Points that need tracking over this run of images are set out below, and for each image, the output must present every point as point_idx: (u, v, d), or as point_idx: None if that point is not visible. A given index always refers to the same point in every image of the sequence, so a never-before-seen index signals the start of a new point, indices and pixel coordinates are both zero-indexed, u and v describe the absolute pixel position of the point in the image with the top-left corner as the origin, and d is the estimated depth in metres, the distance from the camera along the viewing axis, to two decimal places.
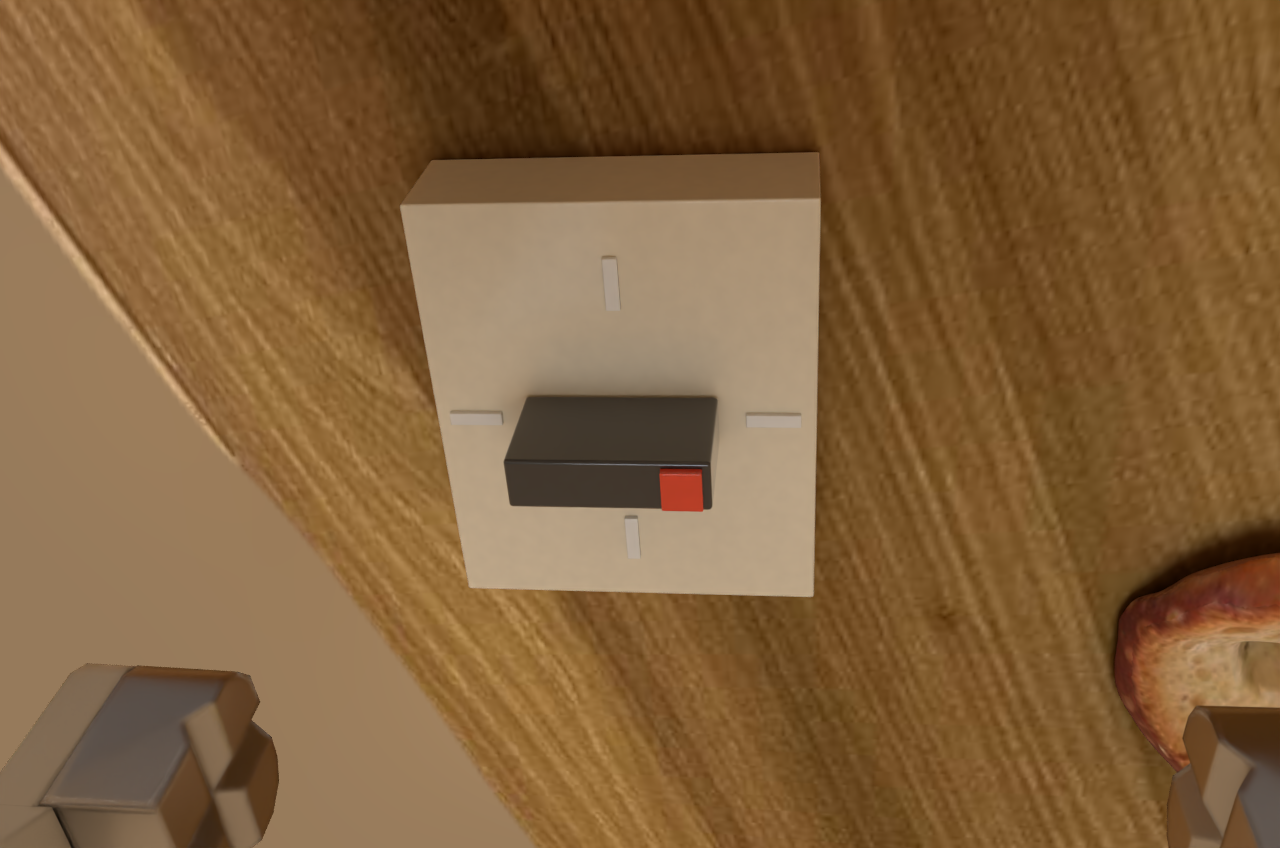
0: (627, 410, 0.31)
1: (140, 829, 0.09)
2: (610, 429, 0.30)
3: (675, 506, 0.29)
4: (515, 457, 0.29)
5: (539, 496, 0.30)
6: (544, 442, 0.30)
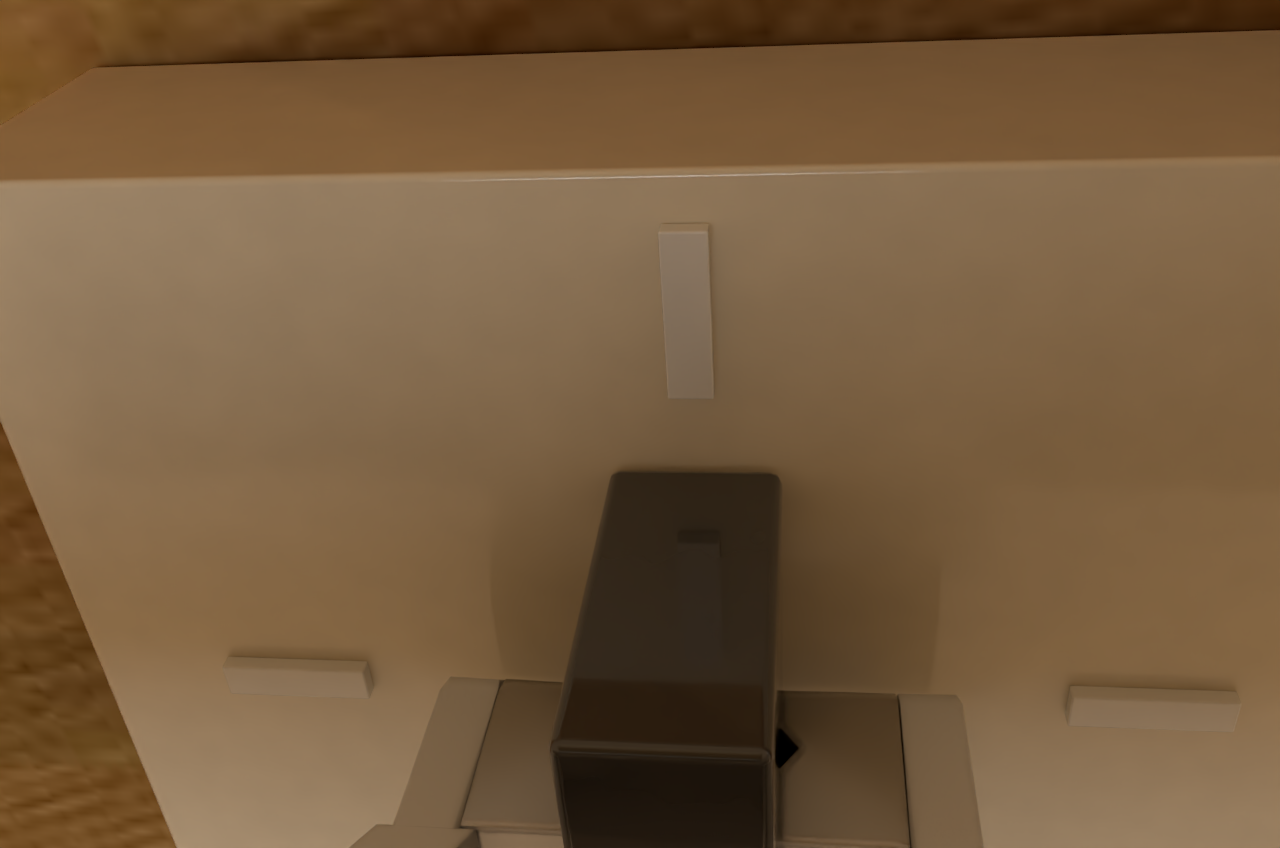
0: None
1: None
2: None
3: None
4: None
5: (615, 837, 0.08)
6: (777, 757, 0.08)
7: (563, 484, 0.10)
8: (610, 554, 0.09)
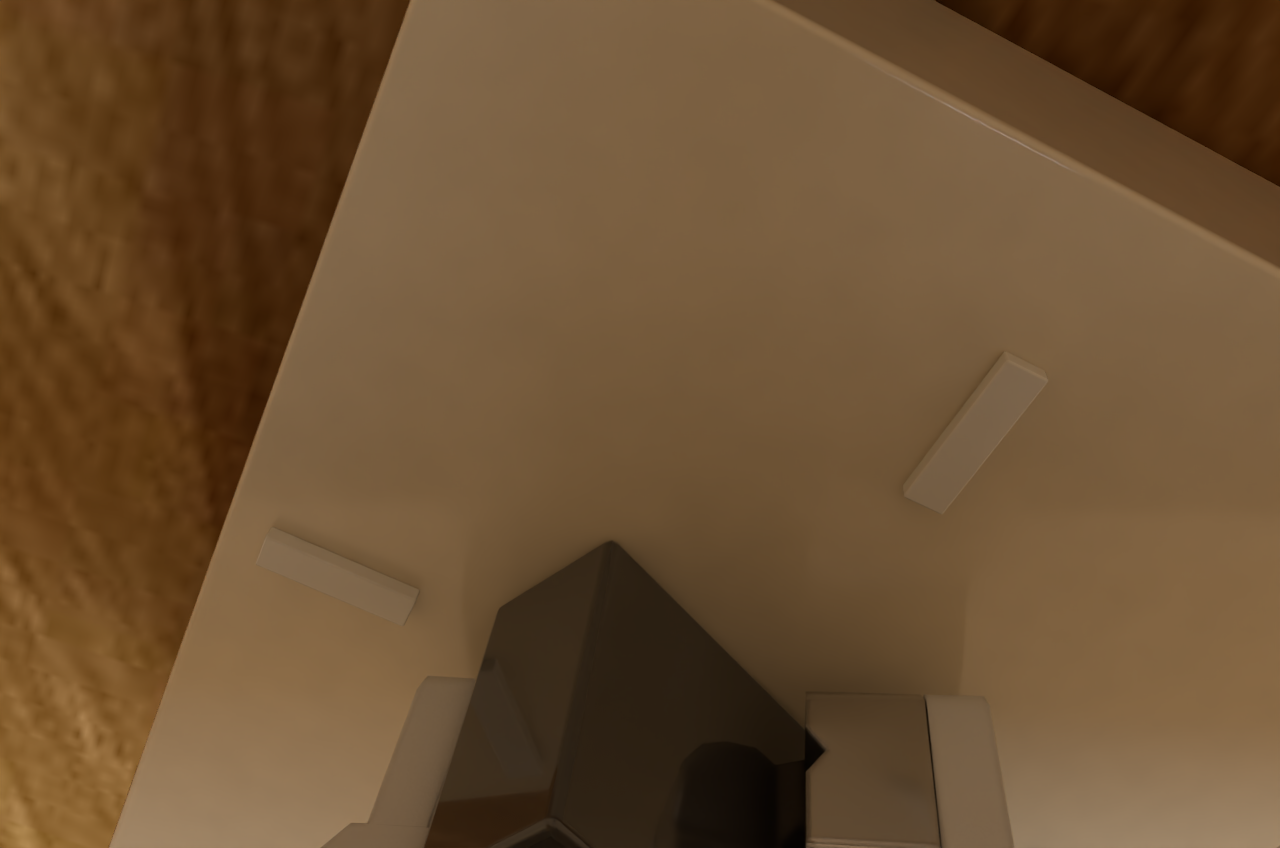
0: None
1: None
2: None
3: None
4: (582, 825, 0.08)
5: None
6: (655, 803, 0.09)
7: None
8: (479, 690, 0.10)
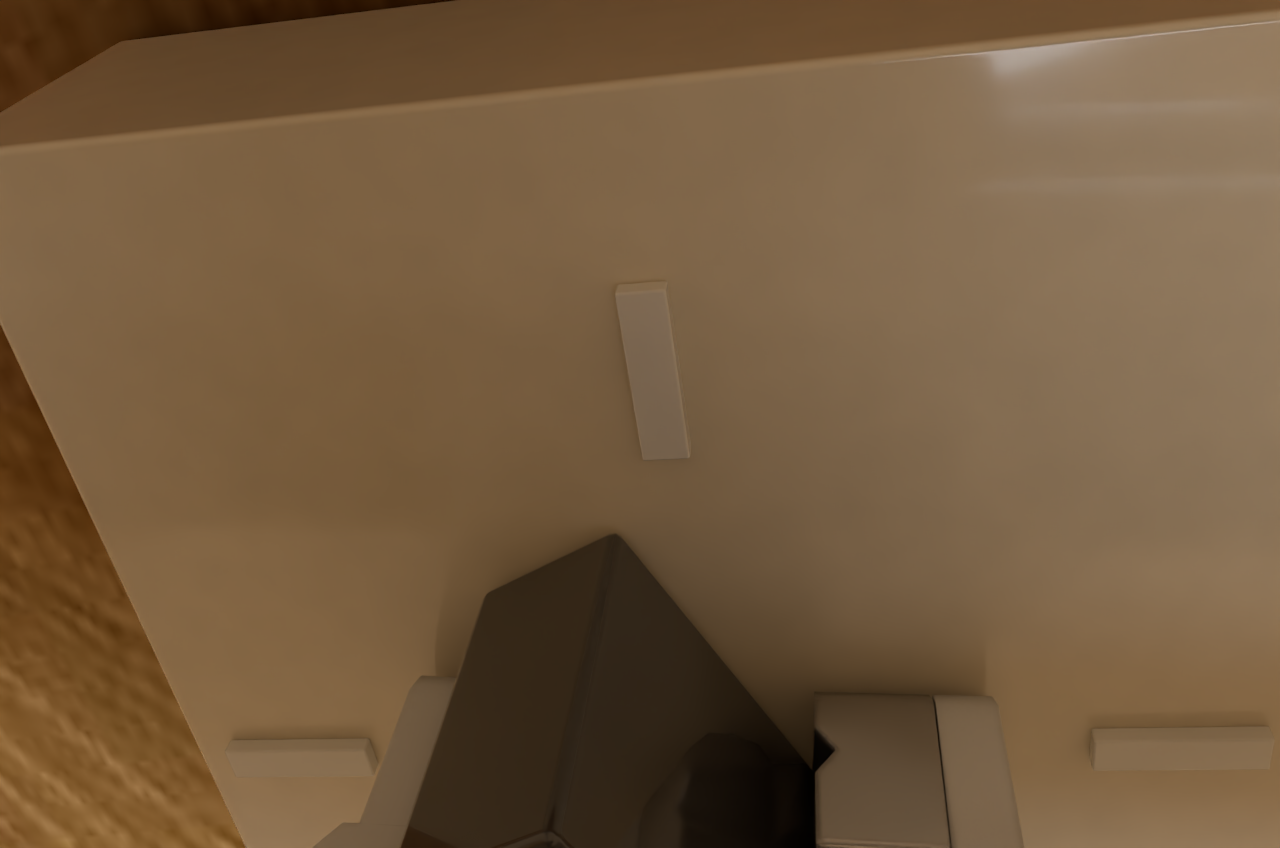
0: (797, 810, 0.10)
1: None
2: None
3: None
4: (580, 840, 0.07)
5: None
6: (652, 819, 0.08)
7: None
8: (464, 681, 0.09)
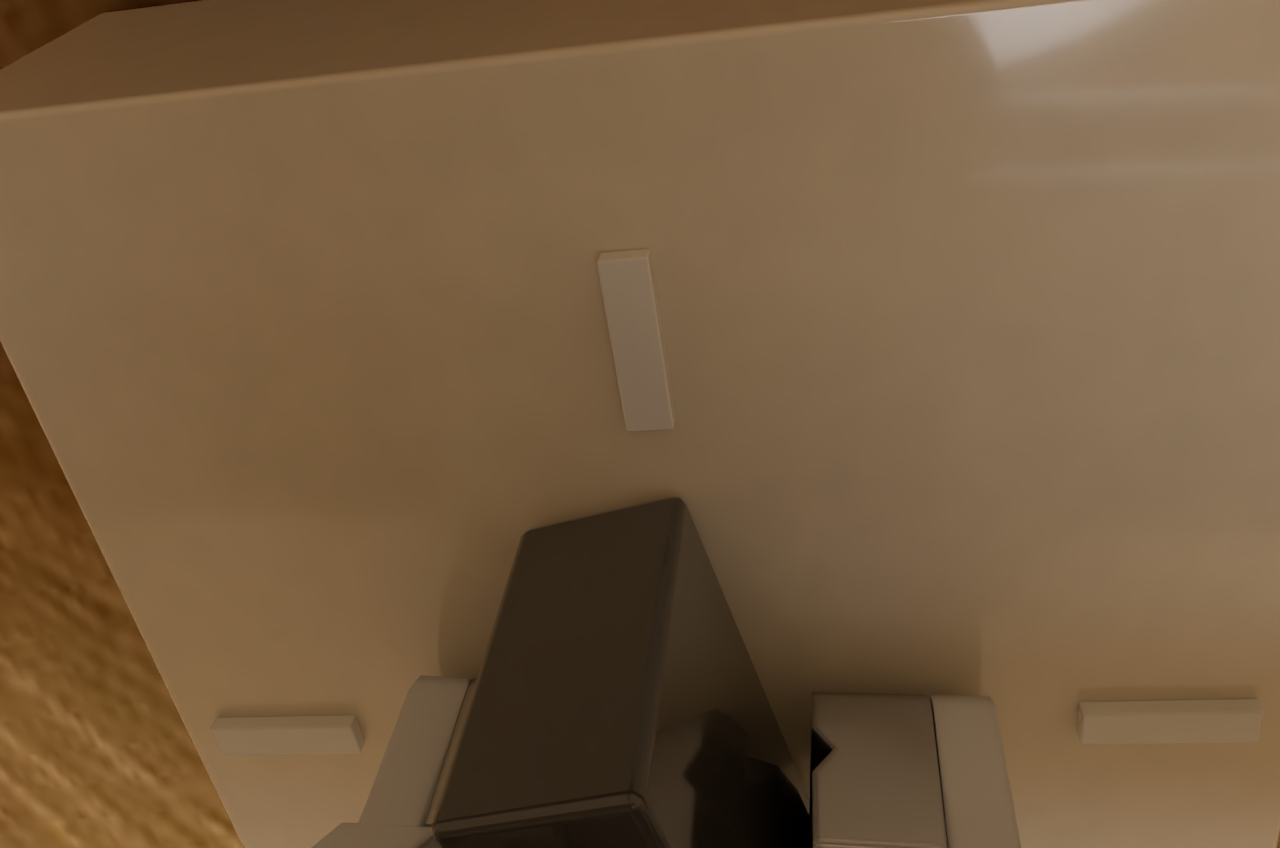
0: (784, 798, 0.10)
1: None
2: None
3: None
4: (655, 807, 0.07)
5: None
6: (700, 792, 0.08)
7: None
8: (509, 618, 0.09)
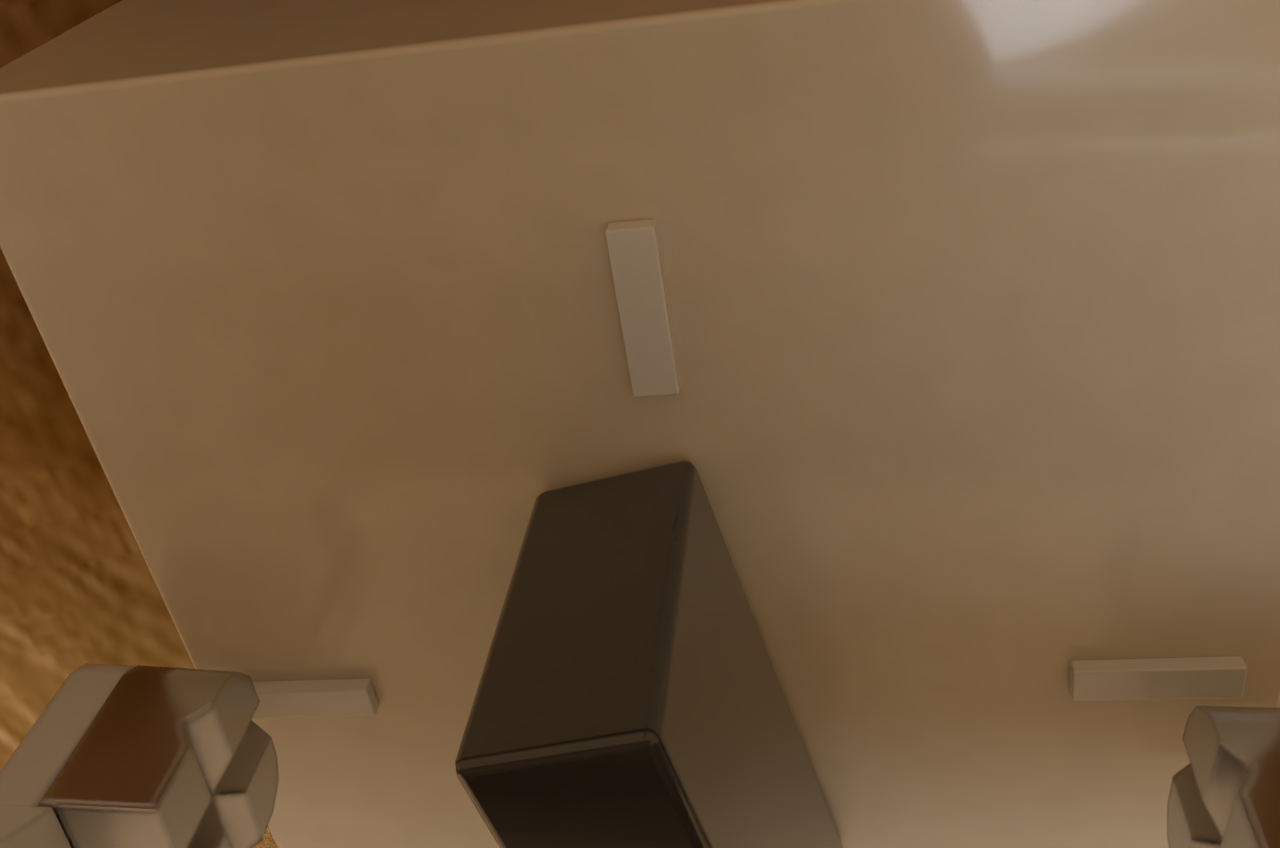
0: (786, 755, 0.11)
1: (140, 829, 0.09)
2: (773, 813, 0.10)
3: None
4: (669, 745, 0.08)
5: (549, 844, 0.08)
6: (711, 737, 0.08)
7: None
8: (526, 573, 0.09)
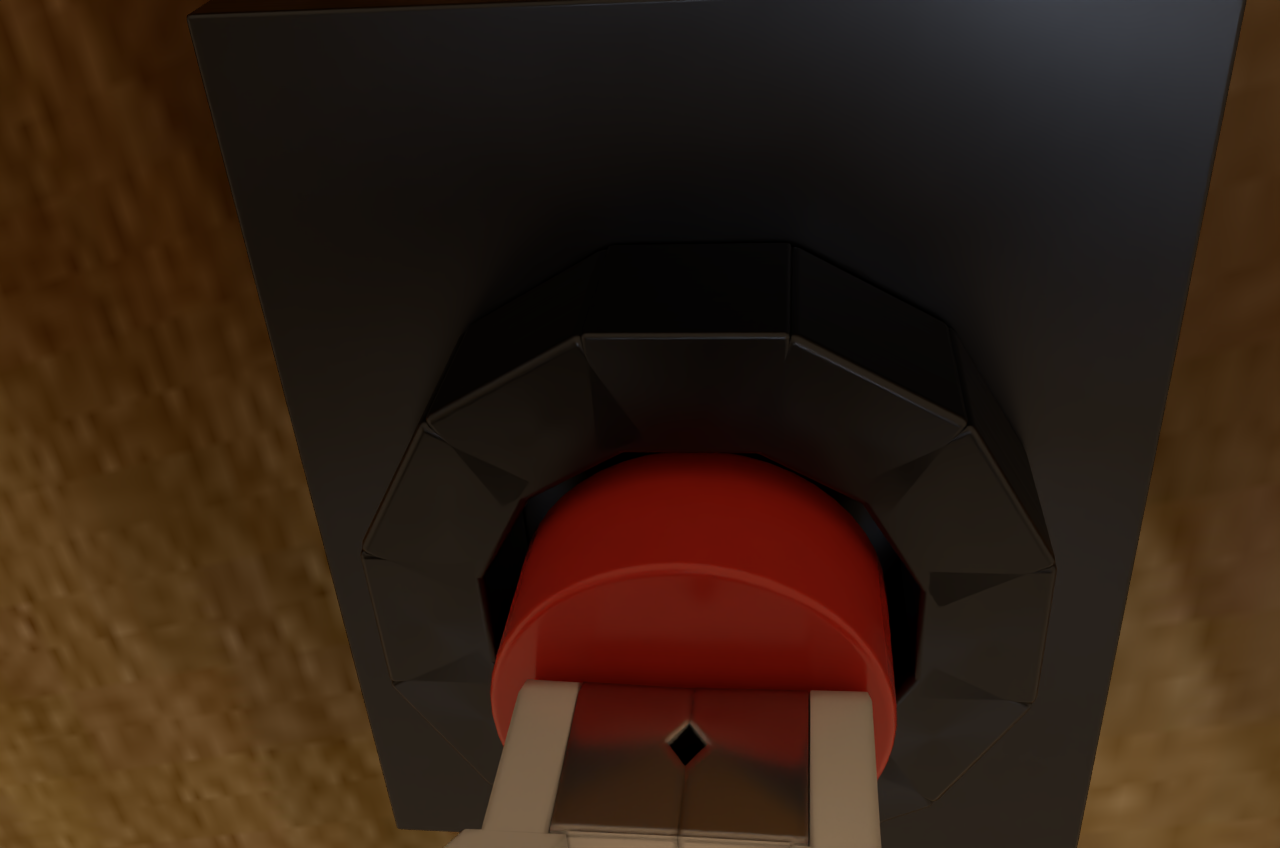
0: None
1: None
2: None
3: None
4: None
5: None
6: None
7: None
8: None
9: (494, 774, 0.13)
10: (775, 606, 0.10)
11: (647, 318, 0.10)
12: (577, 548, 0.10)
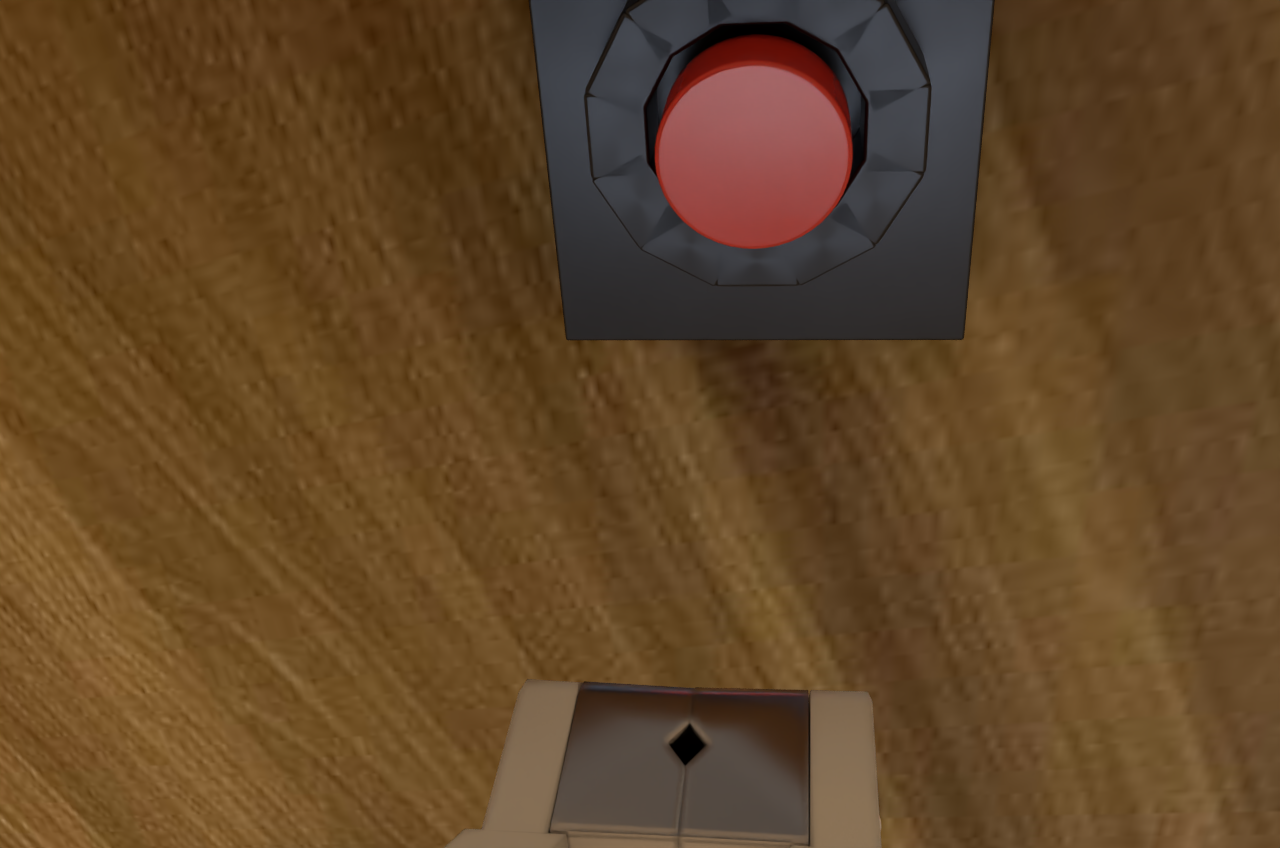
0: None
1: None
2: None
3: None
4: None
5: None
6: None
7: None
8: None
9: (642, 240, 0.25)
10: (795, 82, 0.21)
11: None
12: (699, 68, 0.22)
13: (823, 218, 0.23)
